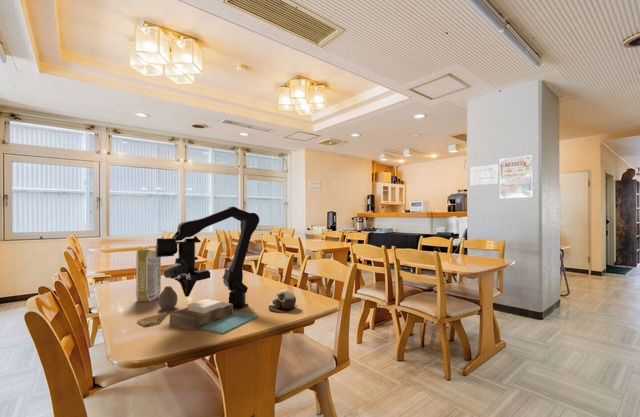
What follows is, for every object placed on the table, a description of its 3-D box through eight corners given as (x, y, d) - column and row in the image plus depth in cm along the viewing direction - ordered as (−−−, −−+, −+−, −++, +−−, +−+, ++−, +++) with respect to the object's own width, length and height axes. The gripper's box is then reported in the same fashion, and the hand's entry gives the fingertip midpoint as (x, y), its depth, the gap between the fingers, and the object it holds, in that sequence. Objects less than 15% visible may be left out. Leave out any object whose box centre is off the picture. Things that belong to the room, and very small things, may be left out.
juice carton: (146, 296, 140) (146, 244, 140) (162, 296, 140) (163, 244, 140) (133, 302, 131) (133, 247, 131) (150, 302, 130) (151, 247, 131)
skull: (261, 309, 117) (270, 285, 124) (272, 320, 124) (279, 297, 131) (288, 311, 113) (295, 287, 119) (298, 323, 119) (304, 299, 126)
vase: (167, 312, 117) (168, 289, 117) (154, 310, 120) (154, 288, 120) (181, 306, 124) (181, 285, 124) (168, 305, 126) (168, 284, 126)
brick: (210, 309, 119) (210, 299, 120) (233, 314, 114) (233, 303, 114) (169, 325, 103) (169, 313, 103) (194, 330, 98) (194, 318, 98)
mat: (237, 312, 116) (237, 311, 116) (258, 316, 111) (258, 315, 111) (200, 329, 100) (200, 327, 100) (222, 334, 95) (222, 333, 95)
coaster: (205, 304, 114) (205, 298, 114) (221, 307, 110) (221, 301, 110) (187, 310, 107) (187, 304, 107) (204, 313, 103) (204, 307, 103)
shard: (167, 315, 114) (167, 311, 114) (177, 319, 110) (177, 315, 110) (136, 324, 106) (136, 319, 106) (145, 329, 101) (145, 323, 101)
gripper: (150, 256, 110) (150, 299, 110) (185, 259, 102) (186, 305, 101) (177, 252, 120) (177, 291, 120) (211, 255, 112) (211, 297, 111)
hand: (187, 296), depth 113 cm, fingers closed
